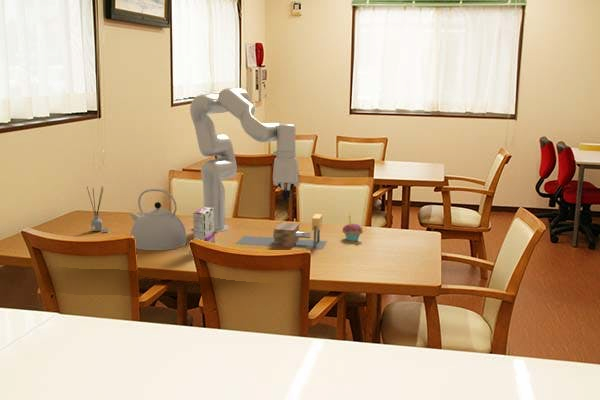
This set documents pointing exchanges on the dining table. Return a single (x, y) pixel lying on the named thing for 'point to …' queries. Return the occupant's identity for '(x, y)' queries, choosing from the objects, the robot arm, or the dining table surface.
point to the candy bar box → (204, 224)
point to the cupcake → (352, 231)
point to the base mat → (270, 242)
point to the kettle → (158, 228)
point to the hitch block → (290, 235)
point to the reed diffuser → (97, 217)
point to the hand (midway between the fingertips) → (286, 199)
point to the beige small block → (317, 221)
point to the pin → (301, 234)
